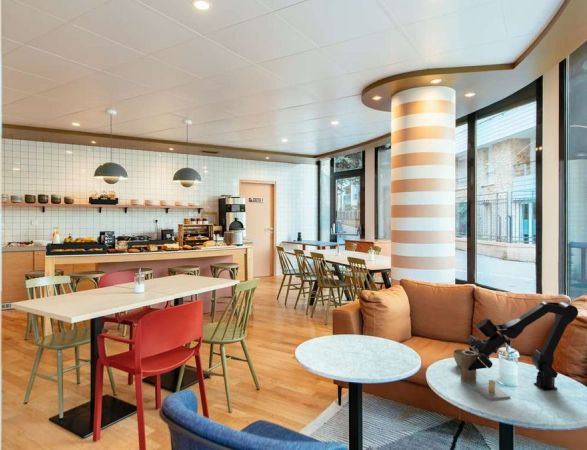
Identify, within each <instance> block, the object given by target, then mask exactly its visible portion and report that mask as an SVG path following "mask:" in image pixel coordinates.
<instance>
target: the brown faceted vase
mask: <svg viewBox="0 0 587 450" xmlns="http://www.w3.org/2000/svg"><path fill="white" fill-rule="evenodd" d="M477 354H478V353H475V352H474V351H469V349H466V350H463V351H462V362H461V369H460V371H461V372H460V380H461V381H462V382H463V383H466V384H476V381H477V369H476V370H471V371H469V370H468V367H469V366H470V365H471V364H472V363H473V362H474V361H475V359H476V356H477Z"/></svg>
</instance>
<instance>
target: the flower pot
mask: <svg viewBox="0 0 587 450" xmlns="http://www.w3.org/2000/svg"><path fill="white" fill-rule="evenodd" d="M463 350H467V349H464V348H455V349H453V351H452V354H453V358H454V362H455V364H456V365H457V367H458V368H461V362H462V351H463Z"/></svg>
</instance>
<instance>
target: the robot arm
mask: <svg viewBox="0 0 587 450" xmlns="http://www.w3.org/2000/svg"><path fill="white" fill-rule="evenodd" d="M549 313H551V314H554V322H553V324H552V326H551V328H550V330H549V332H548V334H547V336H546V339H545V340H544V343H543V345H542V346H541V348H540V349H538V350H537V349H534V351H533V354H532V355H531V363H532V365H534V367H535V368H536V370H538V371H537V373H536V381H535V382H534V383H533V385H535V386H536V387H538V388H540V389H542V390H544V391H551V390H552V391H553V390H558V387H557V386H555V381H556V380H555V379H556V378H557V377H558V374H559V373H558V372H557V371H556V370H555V369H554V368H553V365H554V354H555V352H556V349H557V347H558V346H559V343H560V341H561V339H562V337H563V335H564V333H565V331H566V329H567V327H568V325H570V324H571V323H572V322H574V321H575V319H576V318H577V317H578V315H579V309H578V308H577V306H575V305H573V304H571V303H569V302H566V301H561V302H555V301H554V302H553V301H541V302H540V303H539V304H537V305H535V306H534V307H533V308H531V309H530V310H528V311H527V312H525V313H523V314H521V315H520V316H519V317H517V318H516V319H511V320H507V321H504V322H503V323H501V324H494V323H493V322H492V320H491V319H490V318H489V317H487V318H484V319H482V320H480V321H478V323H477V324H476V326H475V328H476V329H477V330H479V332H481V334H482V335H483V336H484V337H485V338H487V337H488V338H487V339H484V338H483V339H479V338H478V337H476V336H474V335H471V334H470V335H469V337H468V339H467V342H468V350H469V351H474V352H475V353H477V356H476V359H475V361H474V362H473V363H472V364H471V365H470V366H469V367H468V370H469V371H471V370H476V371H477V370H481V369H491V367H493V362H492V360H490V359H491V358H490V356H491V355H492V354H497V353H498V351H497V350H499V349H500V348H502V347H503V346H504V345H505V344H506V345H507V346H508V347H511V339H512V340H514V339H516V338H518V337H519V336H520V335H521V334H522V333H523V331H524V330H525V329H526V327H528V326H529V325H531V324H533V323H535V322H536V321H537V320H539V319H540V318H542V317H544V316H546V315H547V314H549Z"/></svg>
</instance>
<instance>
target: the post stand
mask: <svg viewBox="0 0 587 450" xmlns="http://www.w3.org/2000/svg"><path fill="white" fill-rule="evenodd" d="M473 390H474V391H476V392H477V393H479V394H480V395H481V396H482V397H483V398H485V399H486V400H488V401H498V400H505V399H506V400H507V399H511V395H509V394H507V393H506V392H505V391H503V390H502V389H501V388H498V387H497V386H496V381H495V380H491V379H490V380H488V385H484V386H483V385H482V386H475V387H473Z"/></svg>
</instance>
